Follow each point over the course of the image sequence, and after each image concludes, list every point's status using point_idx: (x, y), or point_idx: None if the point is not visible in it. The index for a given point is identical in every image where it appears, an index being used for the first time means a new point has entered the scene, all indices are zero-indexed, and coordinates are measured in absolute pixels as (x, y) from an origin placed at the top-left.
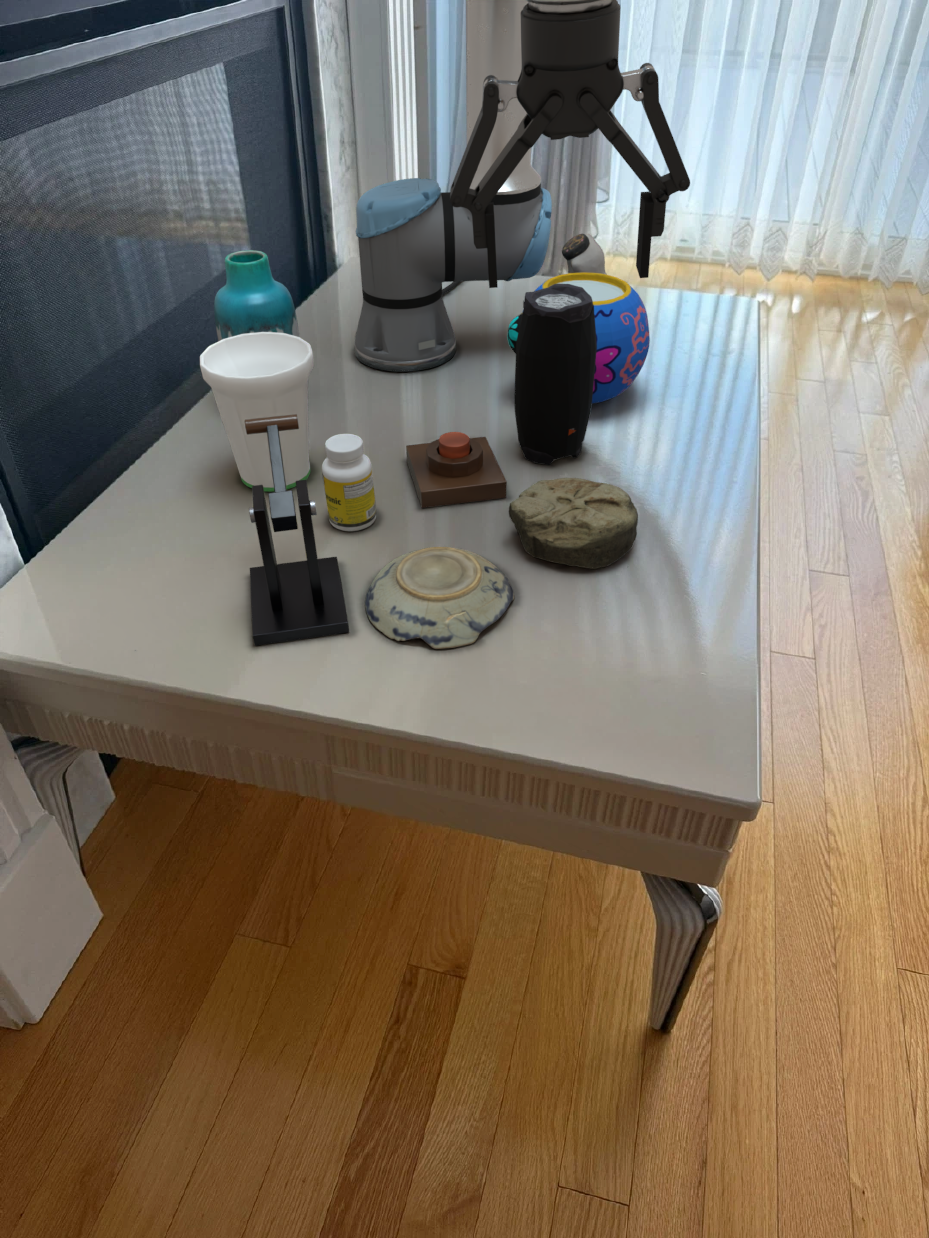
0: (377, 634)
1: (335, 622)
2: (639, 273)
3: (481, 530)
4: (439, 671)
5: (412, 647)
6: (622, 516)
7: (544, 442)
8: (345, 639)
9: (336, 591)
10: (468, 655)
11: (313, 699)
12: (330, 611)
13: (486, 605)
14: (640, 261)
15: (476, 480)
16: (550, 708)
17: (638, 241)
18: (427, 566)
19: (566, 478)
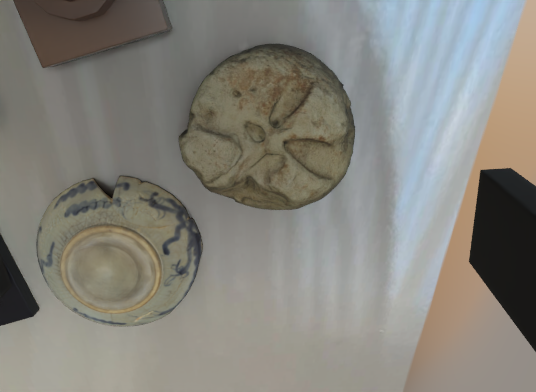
0: None
1: (20, 317)
2: (474, 252)
3: (147, 115)
4: (142, 348)
5: None
6: (332, 168)
7: None
8: (39, 317)
9: None
10: (165, 327)
11: (37, 387)
12: (8, 302)
13: (173, 295)
14: (492, 281)
15: (120, 28)
16: (245, 378)
17: (526, 234)
18: (95, 264)
19: (258, 64)
